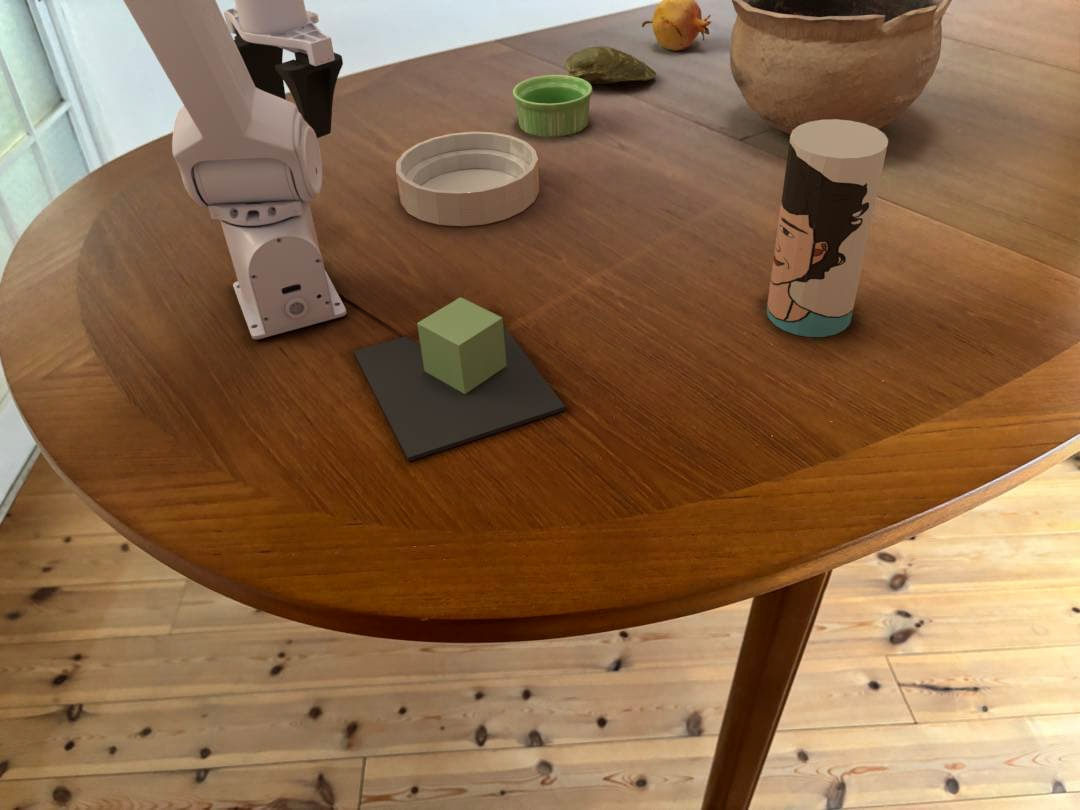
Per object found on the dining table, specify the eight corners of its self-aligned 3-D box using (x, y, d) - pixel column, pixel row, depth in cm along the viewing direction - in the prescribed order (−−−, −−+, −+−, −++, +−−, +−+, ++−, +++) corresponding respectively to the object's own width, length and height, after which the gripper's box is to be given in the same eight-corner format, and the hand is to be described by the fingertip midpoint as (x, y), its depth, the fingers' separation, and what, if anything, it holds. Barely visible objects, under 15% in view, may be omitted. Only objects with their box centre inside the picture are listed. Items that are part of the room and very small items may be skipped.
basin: (561, 209, 90) (560, 172, 88) (427, 244, 86) (422, 205, 84) (507, 157, 100) (504, 121, 98) (384, 185, 96) (378, 149, 94)
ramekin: (512, 114, 110) (510, 77, 107) (587, 108, 110) (586, 71, 107) (517, 145, 103) (515, 106, 100) (597, 138, 103) (597, 100, 100)
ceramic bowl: (843, 188, 91) (871, 33, 82) (679, 128, 104) (687, -12, 95) (960, 122, 102) (997, -21, 93) (799, 75, 115) (816, -55, 106)
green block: (506, 366, 70) (502, 317, 68) (465, 394, 68) (458, 345, 65) (466, 344, 73) (460, 296, 70) (424, 371, 70) (416, 323, 68)
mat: (565, 410, 67) (565, 406, 66) (408, 461, 63) (407, 457, 63) (493, 315, 77) (492, 311, 76) (354, 354, 73) (353, 350, 73)
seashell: (670, 62, 116) (628, 16, 108) (649, 116, 115) (606, 73, 108) (608, 62, 122) (565, 18, 115) (588, 112, 122) (543, 72, 114)
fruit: (629, 6, 121) (698, 15, 117) (653, -21, 124) (721, -13, 120) (635, 53, 127) (701, 63, 122) (658, 26, 130) (723, 35, 125)
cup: (797, 282, 78) (824, 112, 69) (867, 312, 75) (906, 136, 65) (749, 314, 75) (771, 139, 66) (820, 347, 71) (854, 167, 62)
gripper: (351, -28, 75) (377, 131, 84) (259, -54, 83) (291, 93, 92) (277, -8, 71) (312, 156, 80) (188, -37, 80) (228, 115, 88)
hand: (296, 124), depth 86 cm, fingers open, 7 cm apart
